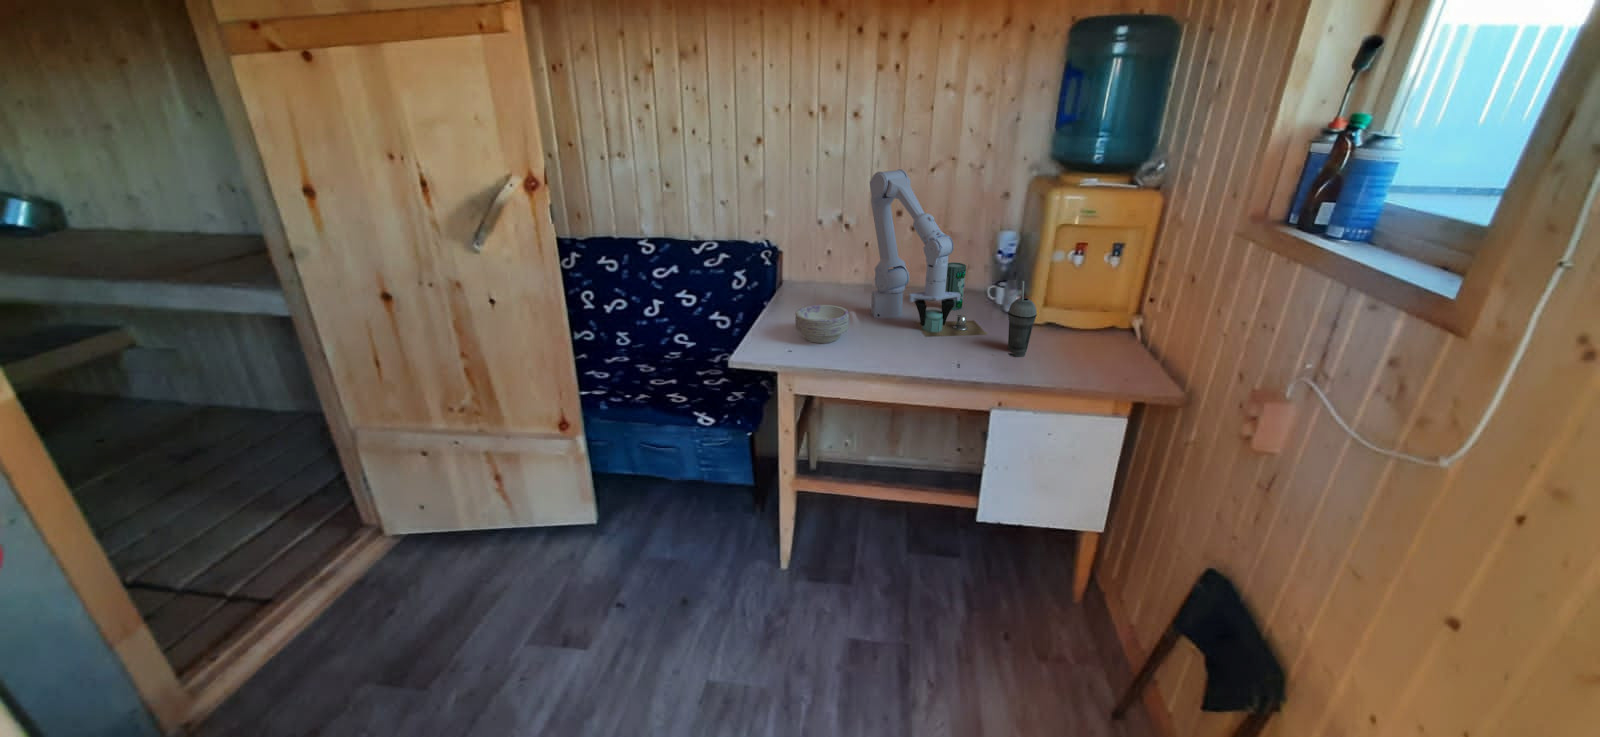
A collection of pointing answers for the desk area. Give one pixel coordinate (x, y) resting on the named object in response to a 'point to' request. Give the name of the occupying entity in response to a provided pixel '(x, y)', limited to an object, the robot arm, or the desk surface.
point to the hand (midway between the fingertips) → (932, 324)
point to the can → (956, 281)
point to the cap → (933, 321)
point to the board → (950, 331)
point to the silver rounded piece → (961, 323)
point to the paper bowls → (822, 322)
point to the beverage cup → (1020, 325)
